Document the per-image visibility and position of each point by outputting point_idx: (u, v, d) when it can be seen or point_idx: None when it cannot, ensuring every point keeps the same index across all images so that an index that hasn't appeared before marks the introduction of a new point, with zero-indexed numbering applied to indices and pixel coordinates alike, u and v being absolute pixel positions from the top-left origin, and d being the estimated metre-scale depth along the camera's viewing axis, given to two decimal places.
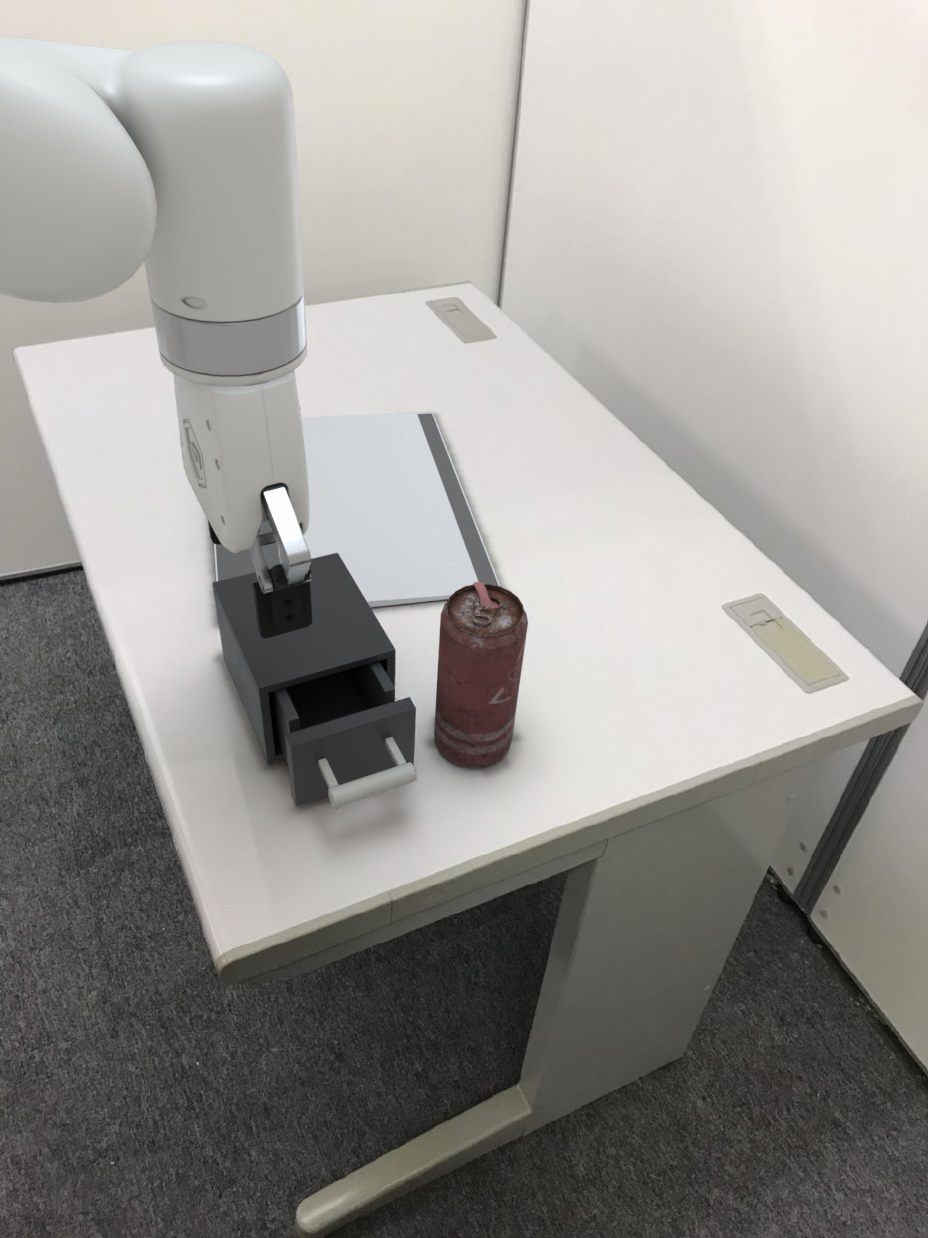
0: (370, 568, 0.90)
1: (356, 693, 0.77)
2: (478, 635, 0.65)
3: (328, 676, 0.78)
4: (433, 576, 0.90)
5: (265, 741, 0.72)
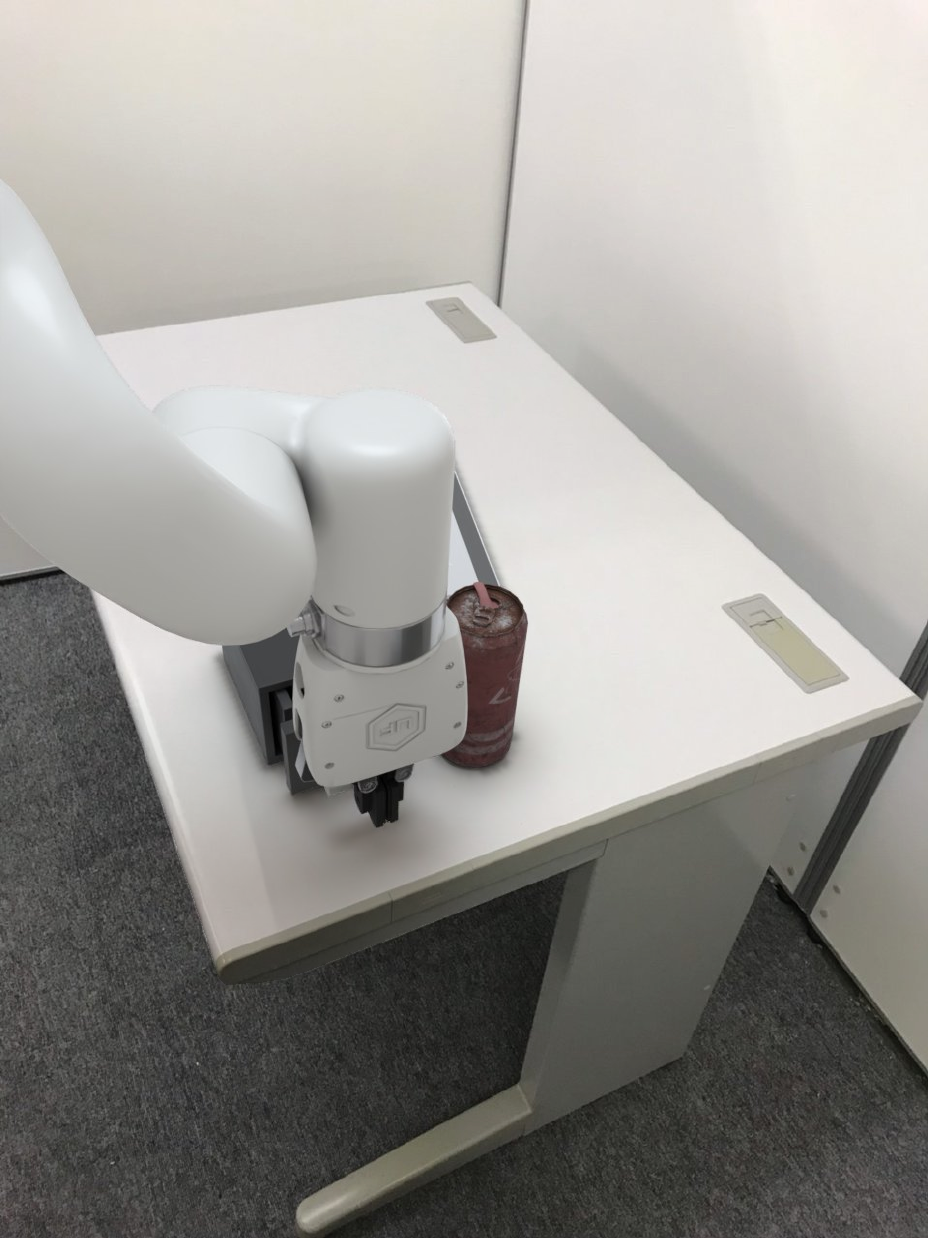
0: None
1: None
2: (478, 635, 0.65)
3: None
4: None
5: (265, 741, 0.72)
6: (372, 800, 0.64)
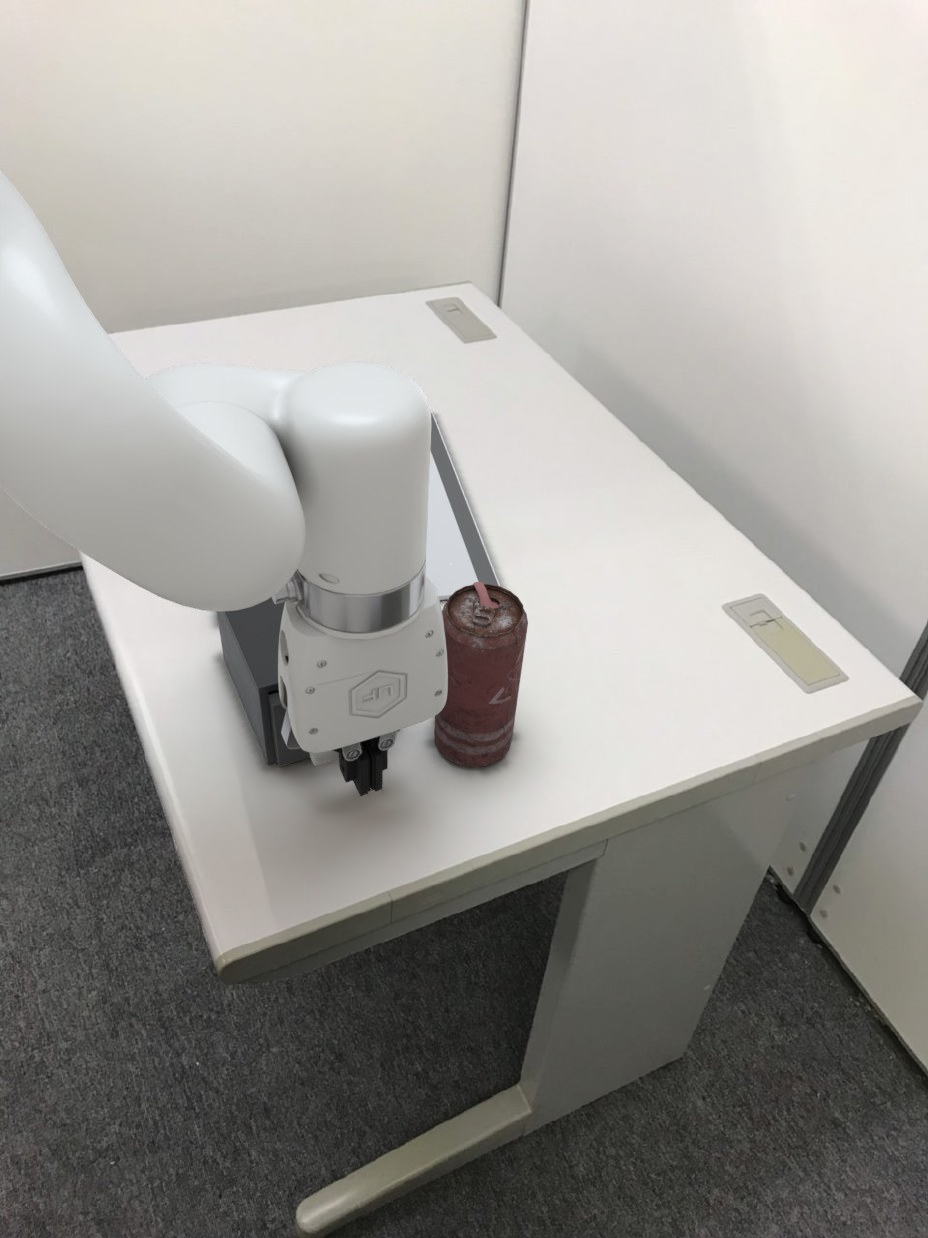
0: None
1: None
2: (478, 635, 0.65)
3: None
4: (433, 576, 0.90)
5: (265, 741, 0.72)
6: (356, 768, 0.66)
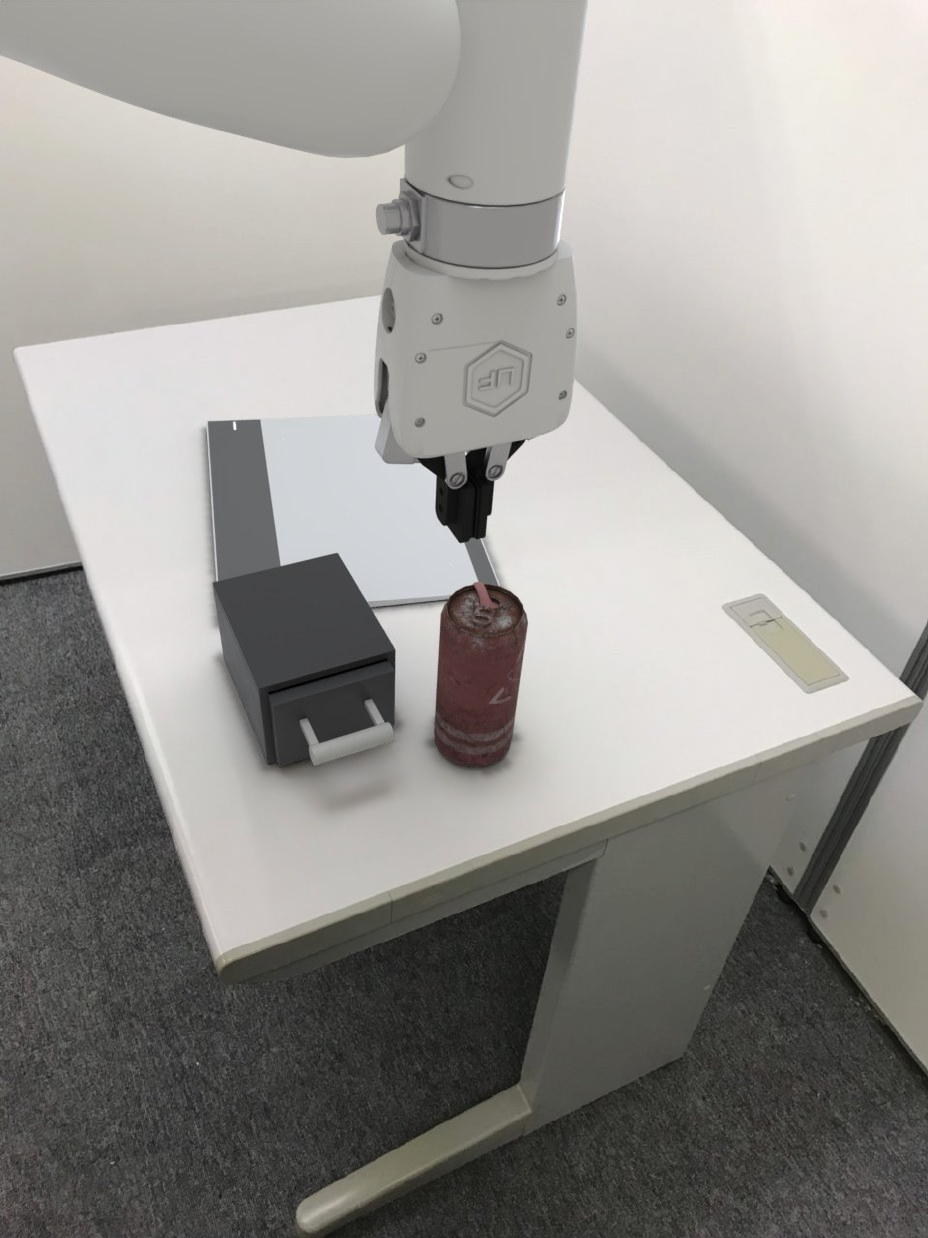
0: (370, 568, 0.90)
1: None
2: (478, 635, 0.65)
3: None
4: (433, 576, 0.90)
5: (265, 741, 0.72)
6: (458, 505, 0.56)
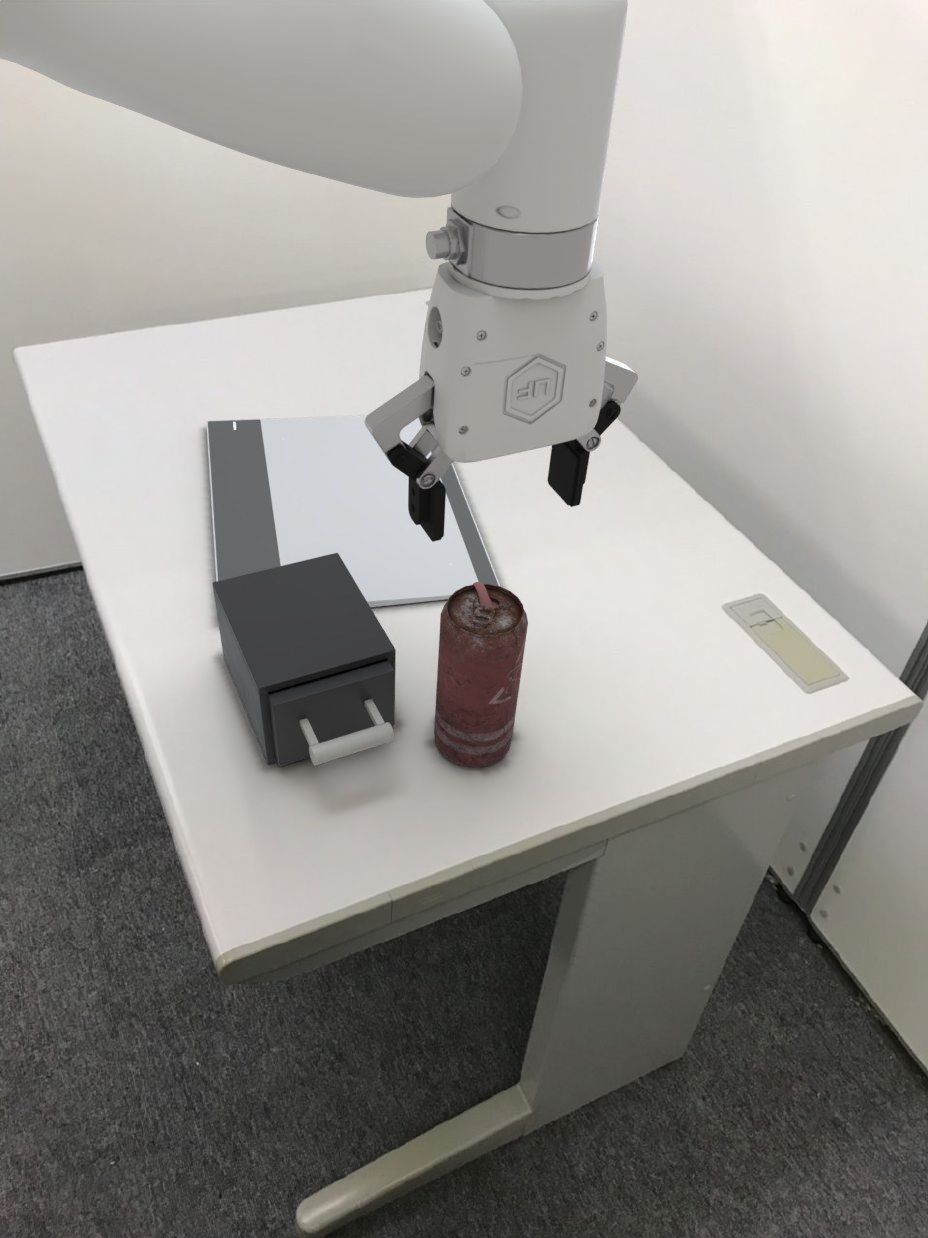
0: (370, 568, 0.90)
1: None
2: (478, 635, 0.65)
3: None
4: (433, 576, 0.90)
5: (265, 741, 0.72)
6: (430, 505, 0.58)
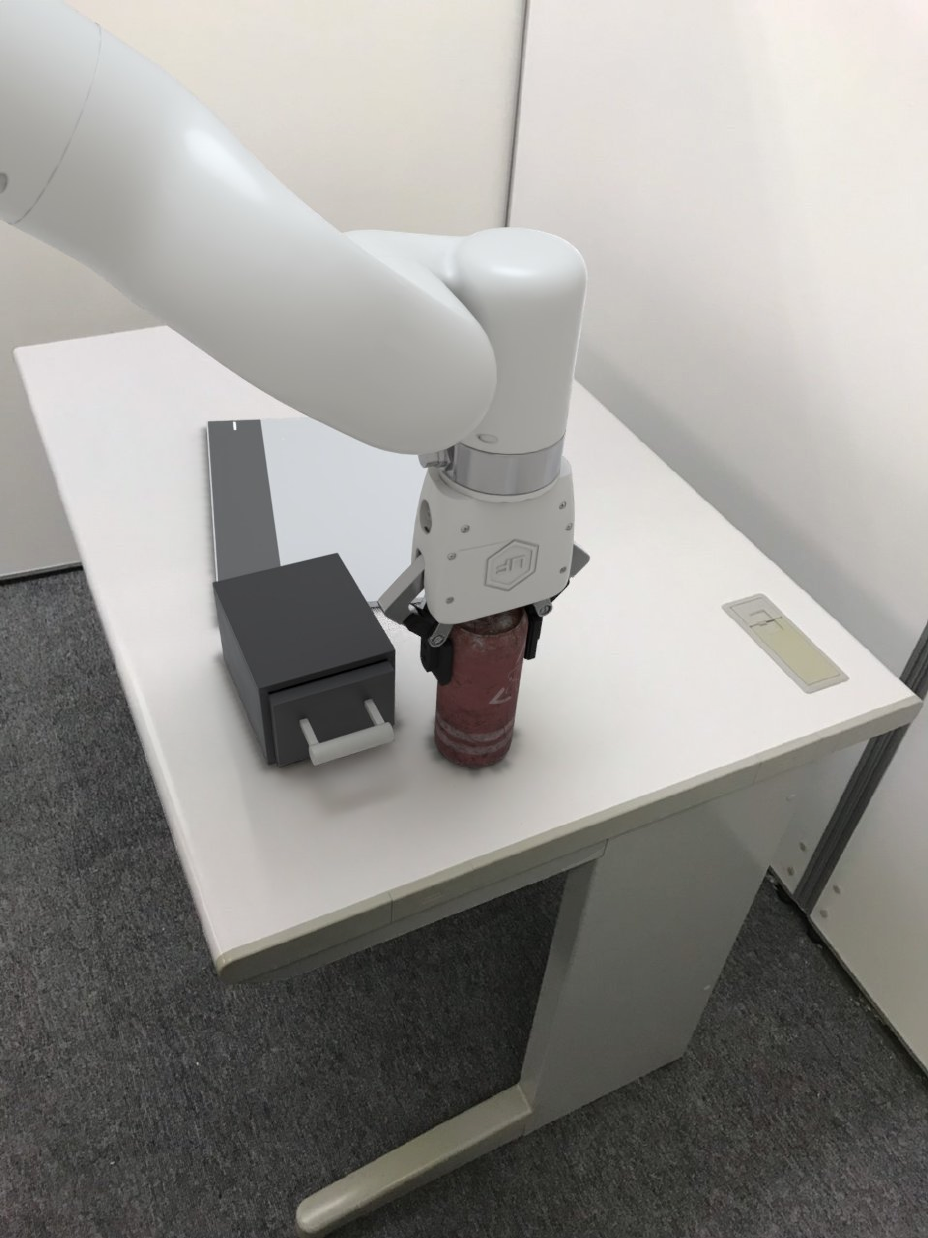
0: (370, 568, 0.90)
1: None
2: (478, 635, 0.65)
3: None
4: None
5: (265, 741, 0.72)
6: (439, 657, 0.67)
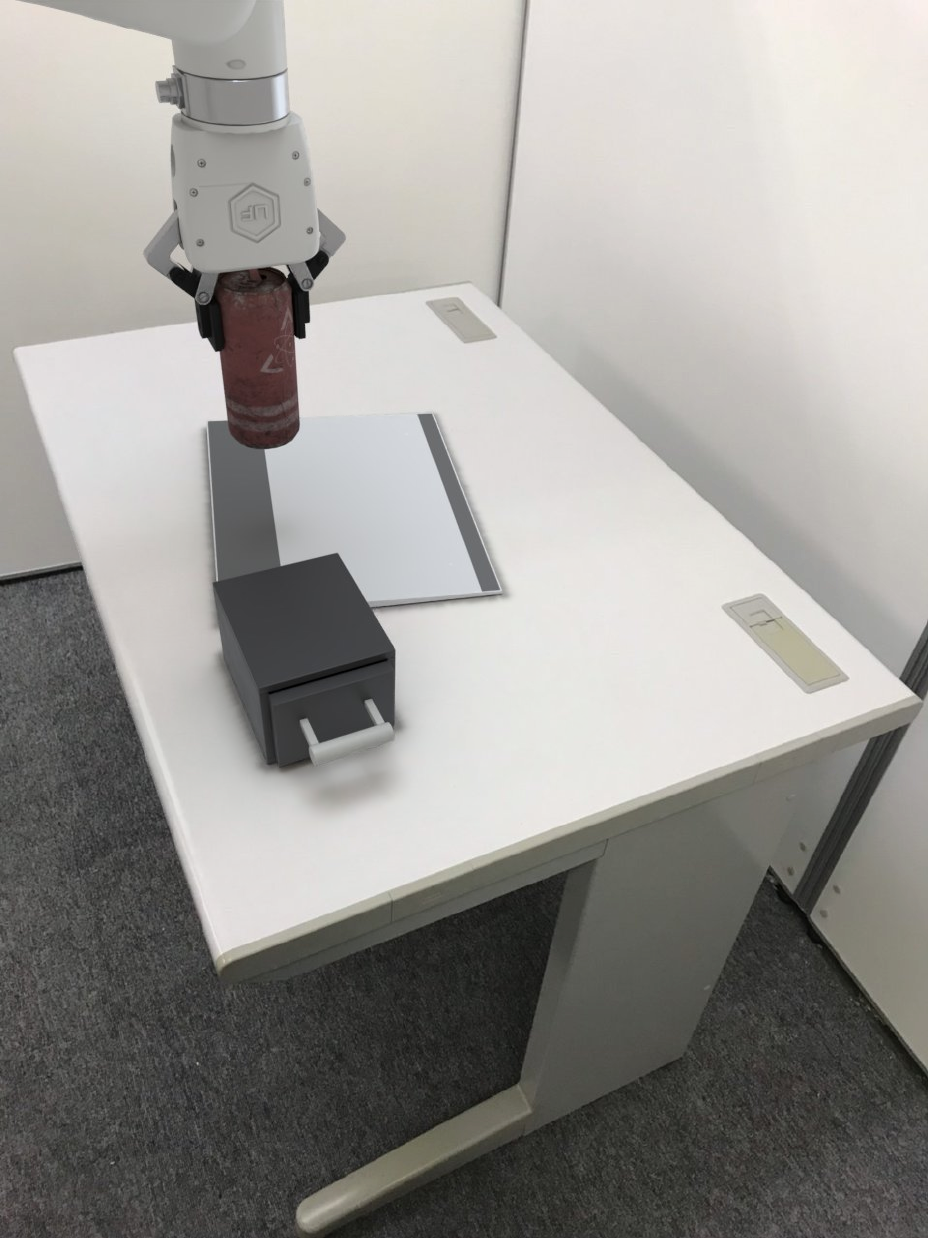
0: (370, 568, 0.90)
1: None
2: (239, 292, 0.74)
3: None
4: (433, 576, 0.90)
5: (265, 741, 0.72)
6: (210, 320, 0.76)
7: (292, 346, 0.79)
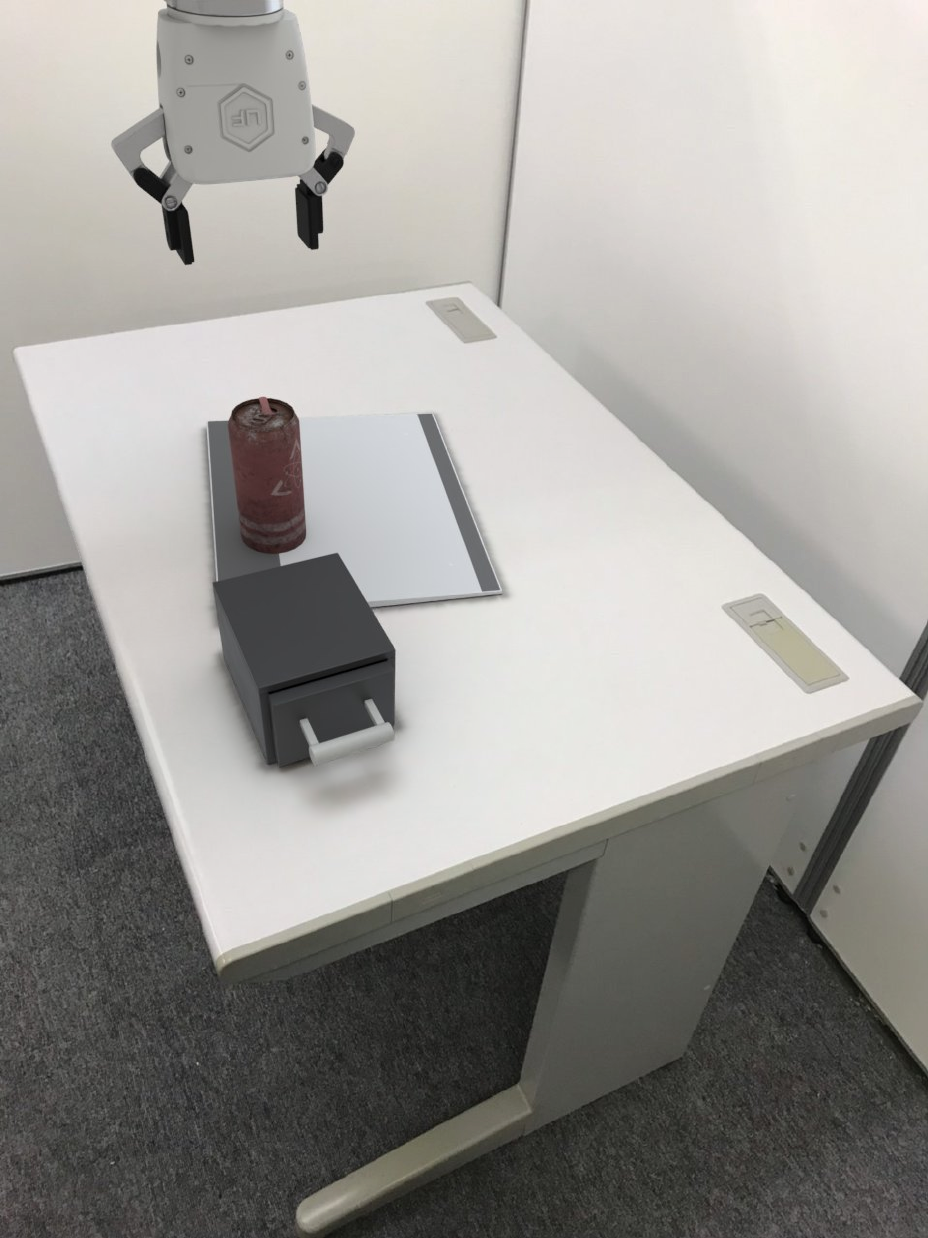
0: (370, 568, 0.90)
1: None
2: (252, 430, 0.82)
3: None
4: (433, 576, 0.90)
5: (265, 741, 0.72)
6: (178, 229, 0.70)
7: (300, 470, 0.87)
